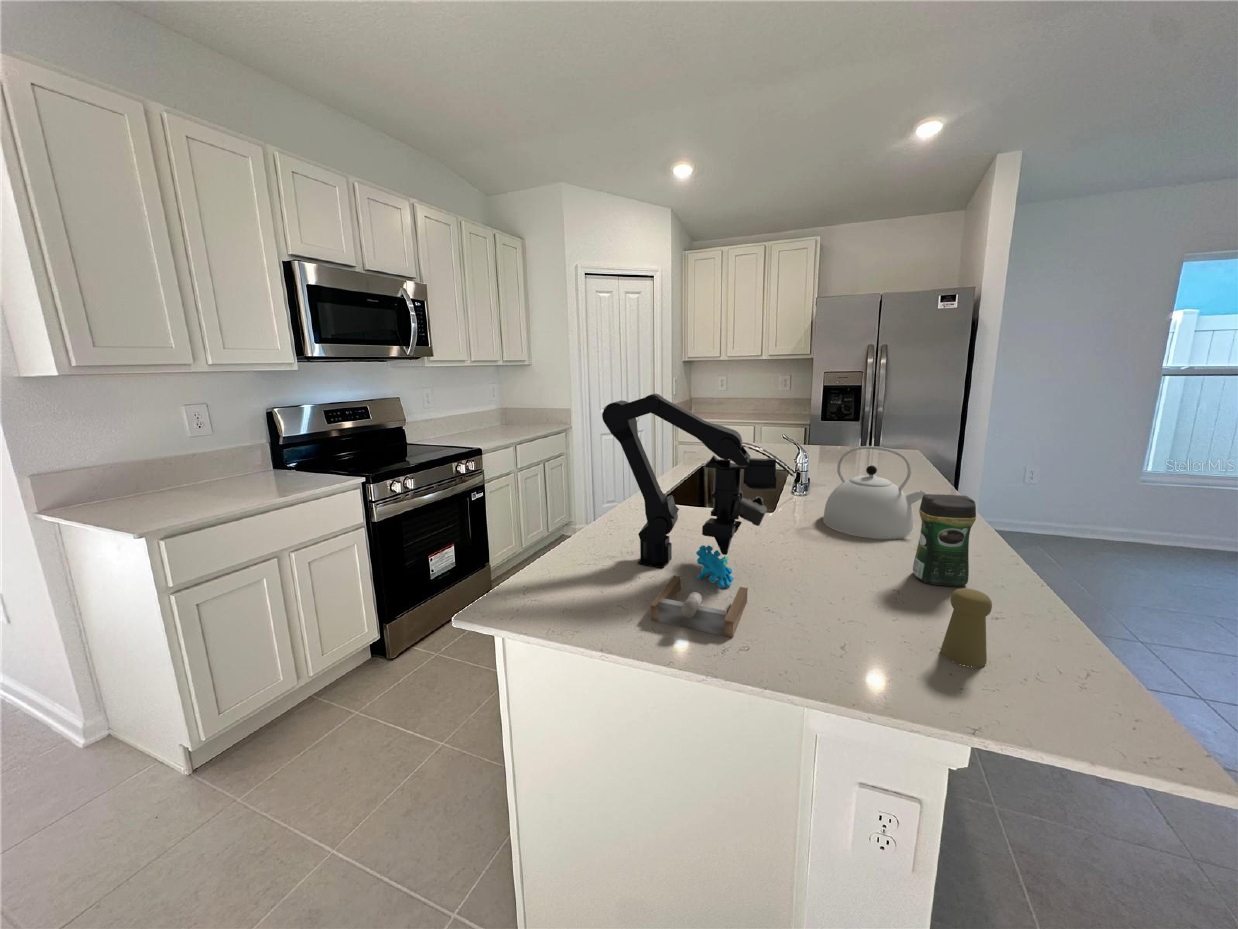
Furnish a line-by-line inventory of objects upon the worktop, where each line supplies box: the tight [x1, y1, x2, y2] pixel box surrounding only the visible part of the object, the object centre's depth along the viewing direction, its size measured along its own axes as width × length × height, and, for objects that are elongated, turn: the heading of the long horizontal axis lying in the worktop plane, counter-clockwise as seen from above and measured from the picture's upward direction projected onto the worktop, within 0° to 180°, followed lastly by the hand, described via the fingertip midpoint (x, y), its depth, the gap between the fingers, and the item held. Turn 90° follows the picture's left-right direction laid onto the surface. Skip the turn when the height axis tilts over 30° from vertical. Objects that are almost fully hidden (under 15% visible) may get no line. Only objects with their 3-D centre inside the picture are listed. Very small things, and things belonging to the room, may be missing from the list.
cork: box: [940, 587, 993, 668], centre depth 76 cm, size 6×6×11 cm
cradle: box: [650, 574, 749, 638], centre depth 91 cm, size 15×15×6 cm
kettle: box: [822, 445, 927, 540], centre depth 134 cm, size 25×23×22 cm
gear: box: [695, 544, 735, 589], centre depth 104 cm, size 11×6×10 cm
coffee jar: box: [912, 493, 977, 587], centre depth 101 cm, size 10×8×19 cm
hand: (724, 554), depth 109 cm, fingers closed
